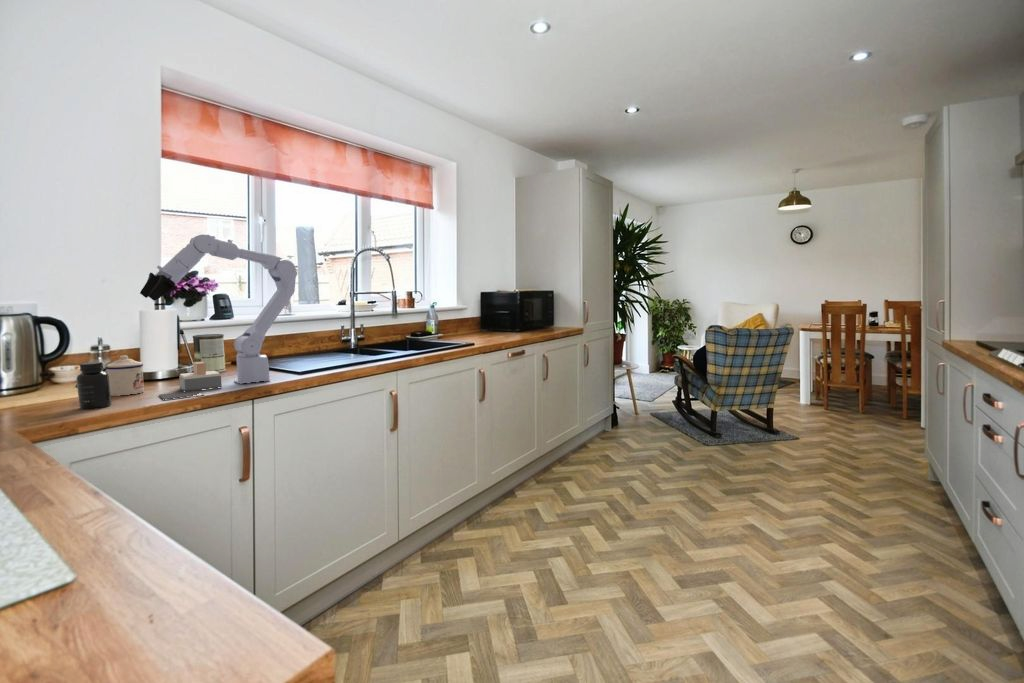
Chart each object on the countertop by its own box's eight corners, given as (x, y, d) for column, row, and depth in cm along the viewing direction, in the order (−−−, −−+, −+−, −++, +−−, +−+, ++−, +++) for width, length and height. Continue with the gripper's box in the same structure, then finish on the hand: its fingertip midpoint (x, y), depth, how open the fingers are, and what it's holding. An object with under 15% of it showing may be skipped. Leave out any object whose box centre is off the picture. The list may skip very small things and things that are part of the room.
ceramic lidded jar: (141, 395, 157) (138, 356, 156) (104, 397, 153) (100, 358, 152) (150, 388, 168) (147, 352, 167) (115, 390, 164) (112, 353, 163)
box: (215, 384, 173) (214, 372, 173) (221, 388, 167) (220, 375, 167) (180, 388, 166) (179, 376, 166) (185, 392, 160) (184, 379, 160)
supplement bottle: (91, 404, 144) (87, 361, 143) (117, 403, 145) (113, 360, 144) (72, 410, 138) (68, 364, 136) (100, 409, 138) (96, 364, 137)
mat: (197, 391, 162) (196, 390, 162) (203, 395, 155) (203, 394, 155) (158, 395, 155) (158, 394, 155) (163, 400, 149) (163, 399, 149)
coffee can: (188, 373, 198) (186, 336, 196) (207, 369, 208) (204, 333, 206) (214, 373, 196) (211, 336, 195) (231, 369, 207) (229, 333, 205)
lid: (214, 376, 172) (213, 360, 172) (220, 378, 167) (219, 362, 166) (180, 379, 166) (179, 363, 165) (185, 382, 160) (184, 365, 160)
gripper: (161, 253, 164) (127, 285, 159) (178, 256, 155) (142, 290, 150) (180, 269, 169) (148, 300, 163) (198, 273, 160) (164, 306, 154)
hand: (146, 297), depth 157 cm, fingers open, 7 cm apart
